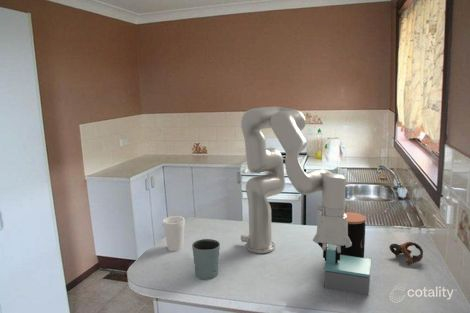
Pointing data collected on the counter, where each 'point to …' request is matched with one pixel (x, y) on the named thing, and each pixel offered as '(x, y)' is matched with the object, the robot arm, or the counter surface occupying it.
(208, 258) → the green tapered cup
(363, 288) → the tub
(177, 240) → the foam cup
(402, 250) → the brown looped piece
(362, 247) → the coffee jar
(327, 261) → the teal platform with post
